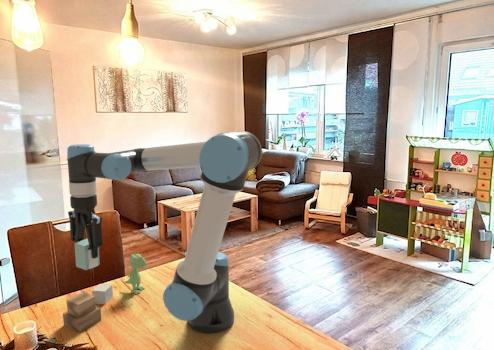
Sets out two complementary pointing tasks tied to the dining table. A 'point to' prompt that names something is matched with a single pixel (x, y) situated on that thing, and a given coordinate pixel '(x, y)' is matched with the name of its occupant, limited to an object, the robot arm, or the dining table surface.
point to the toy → (136, 272)
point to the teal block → (83, 254)
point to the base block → (82, 320)
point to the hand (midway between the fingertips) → (87, 264)
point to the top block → (81, 304)
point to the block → (102, 293)
